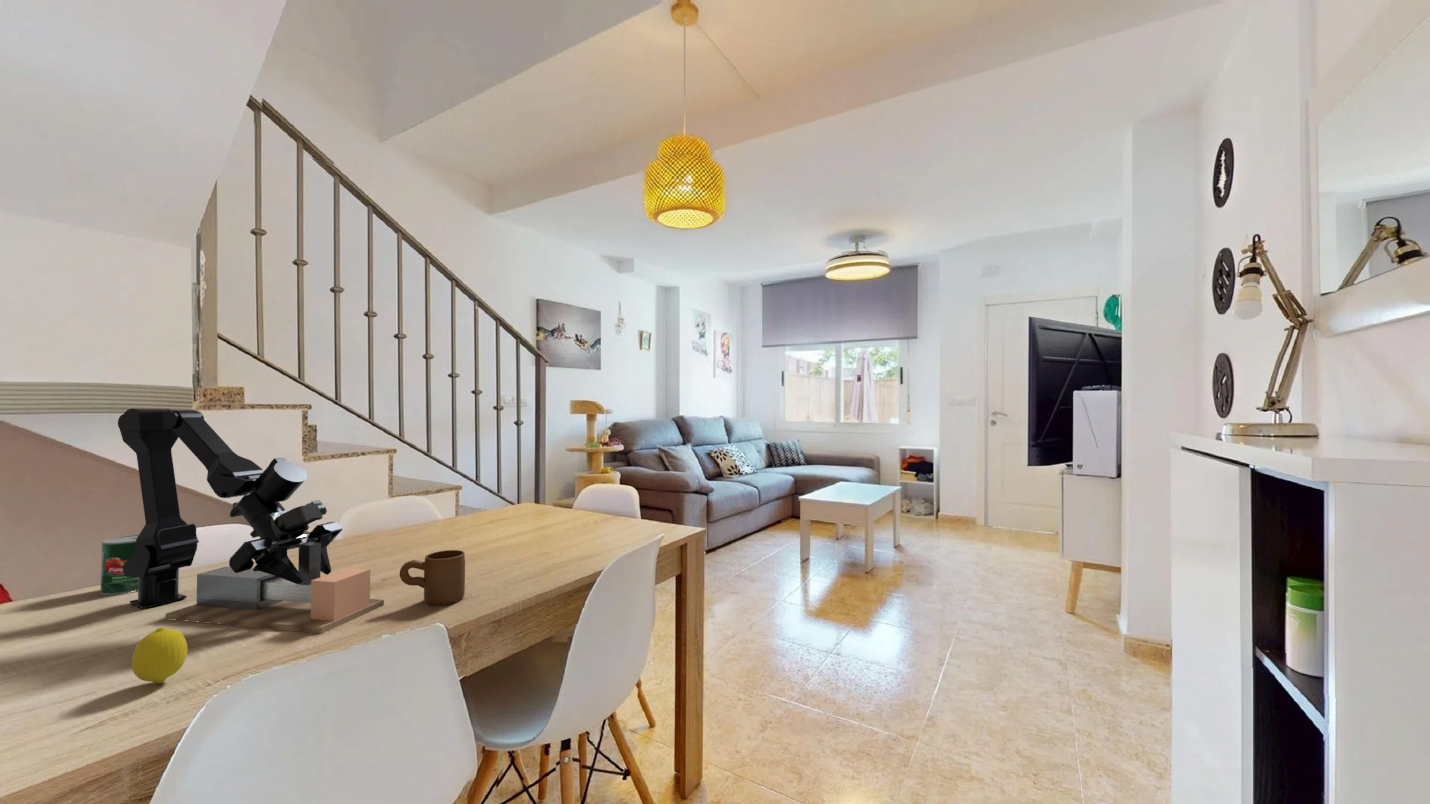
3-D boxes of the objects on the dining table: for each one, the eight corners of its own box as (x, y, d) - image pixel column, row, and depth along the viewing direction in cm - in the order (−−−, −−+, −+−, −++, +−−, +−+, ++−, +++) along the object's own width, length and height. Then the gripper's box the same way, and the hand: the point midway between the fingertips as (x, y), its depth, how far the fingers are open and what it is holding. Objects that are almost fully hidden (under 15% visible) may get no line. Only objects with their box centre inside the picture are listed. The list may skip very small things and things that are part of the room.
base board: (165, 619, 100) (165, 613, 100) (243, 593, 114) (243, 589, 114) (321, 633, 94) (321, 627, 94) (383, 604, 108) (384, 599, 108)
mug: (401, 614, 103) (402, 565, 103) (396, 603, 109) (396, 556, 109) (468, 601, 110) (469, 555, 110) (460, 591, 116) (460, 547, 116)
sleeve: (196, 605, 104) (197, 574, 104) (225, 596, 109) (225, 566, 109) (256, 610, 102) (257, 578, 102) (283, 601, 107) (283, 570, 107)
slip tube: (231, 596, 104) (232, 541, 104) (248, 590, 107) (249, 537, 107) (333, 604, 100) (334, 547, 100) (347, 598, 103) (348, 543, 103)
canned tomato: (111, 597, 111) (113, 544, 111) (92, 592, 114) (93, 540, 114) (162, 585, 118) (163, 536, 119) (142, 581, 121) (143, 532, 121)
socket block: (310, 618, 98) (311, 580, 98) (347, 603, 106) (348, 567, 106) (334, 620, 97) (334, 582, 97) (369, 605, 105) (370, 569, 105)
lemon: (157, 674, 79) (158, 620, 79) (197, 673, 80) (198, 619, 80) (118, 694, 74) (120, 636, 74) (162, 693, 74) (163, 635, 74)
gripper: (243, 497, 94) (295, 563, 92) (335, 483, 113) (380, 538, 111) (206, 539, 96) (256, 605, 94) (302, 518, 114) (346, 573, 112)
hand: (315, 577), depth 103 cm, fingers open, 6 cm apart
